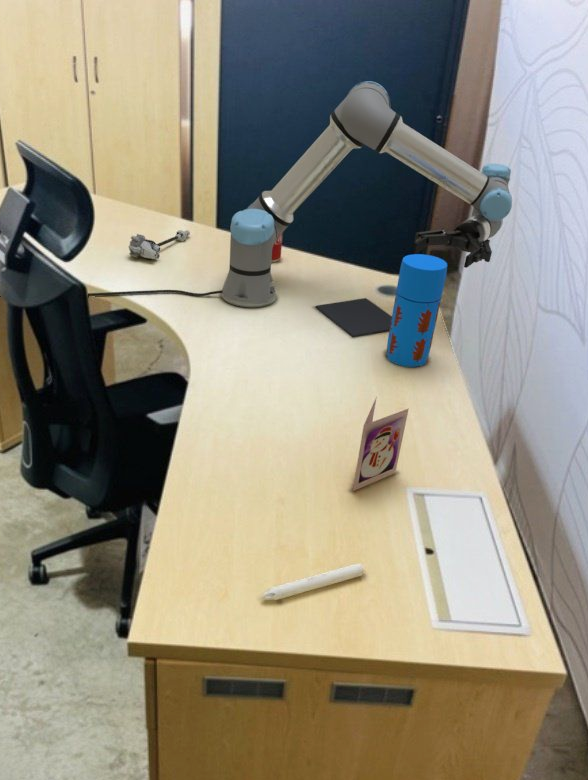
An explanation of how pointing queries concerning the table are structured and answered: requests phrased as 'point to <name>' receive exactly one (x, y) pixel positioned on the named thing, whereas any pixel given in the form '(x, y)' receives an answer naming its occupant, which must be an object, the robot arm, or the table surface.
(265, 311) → the table surface
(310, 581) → the marker
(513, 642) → the table surface
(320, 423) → the table surface
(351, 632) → the table surface
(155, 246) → the hammer
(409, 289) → the thermos
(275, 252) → the beverage can
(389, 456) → the greeting card
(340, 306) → the desk mat
